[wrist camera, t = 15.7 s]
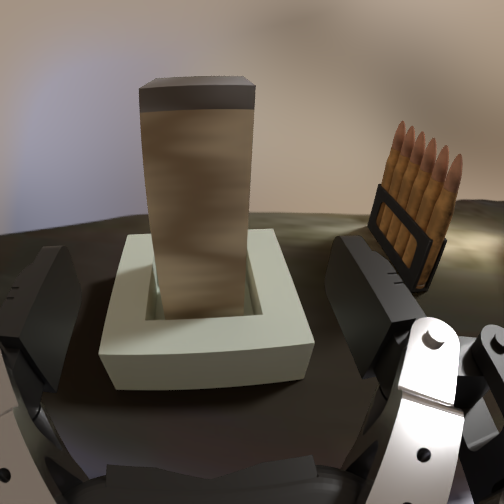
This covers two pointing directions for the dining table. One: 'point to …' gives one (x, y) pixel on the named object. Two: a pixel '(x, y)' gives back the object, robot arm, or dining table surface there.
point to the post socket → (205, 327)
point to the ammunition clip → (415, 206)
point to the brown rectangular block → (198, 190)
